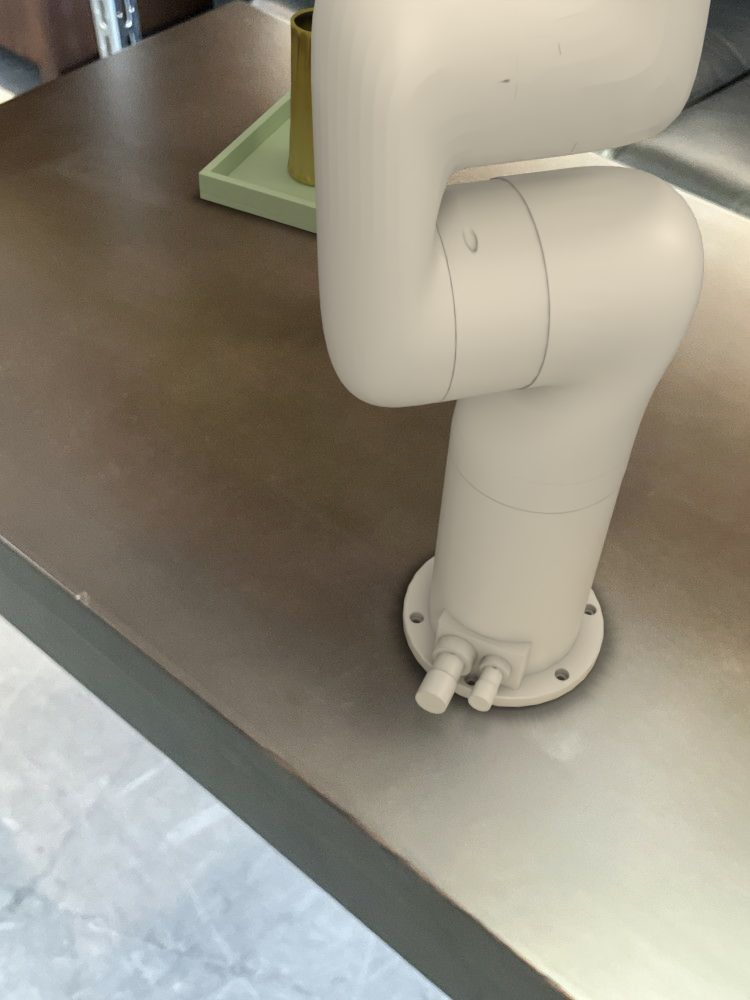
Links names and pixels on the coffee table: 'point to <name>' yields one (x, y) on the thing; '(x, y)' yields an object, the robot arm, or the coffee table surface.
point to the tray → (261, 173)
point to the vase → (301, 100)
